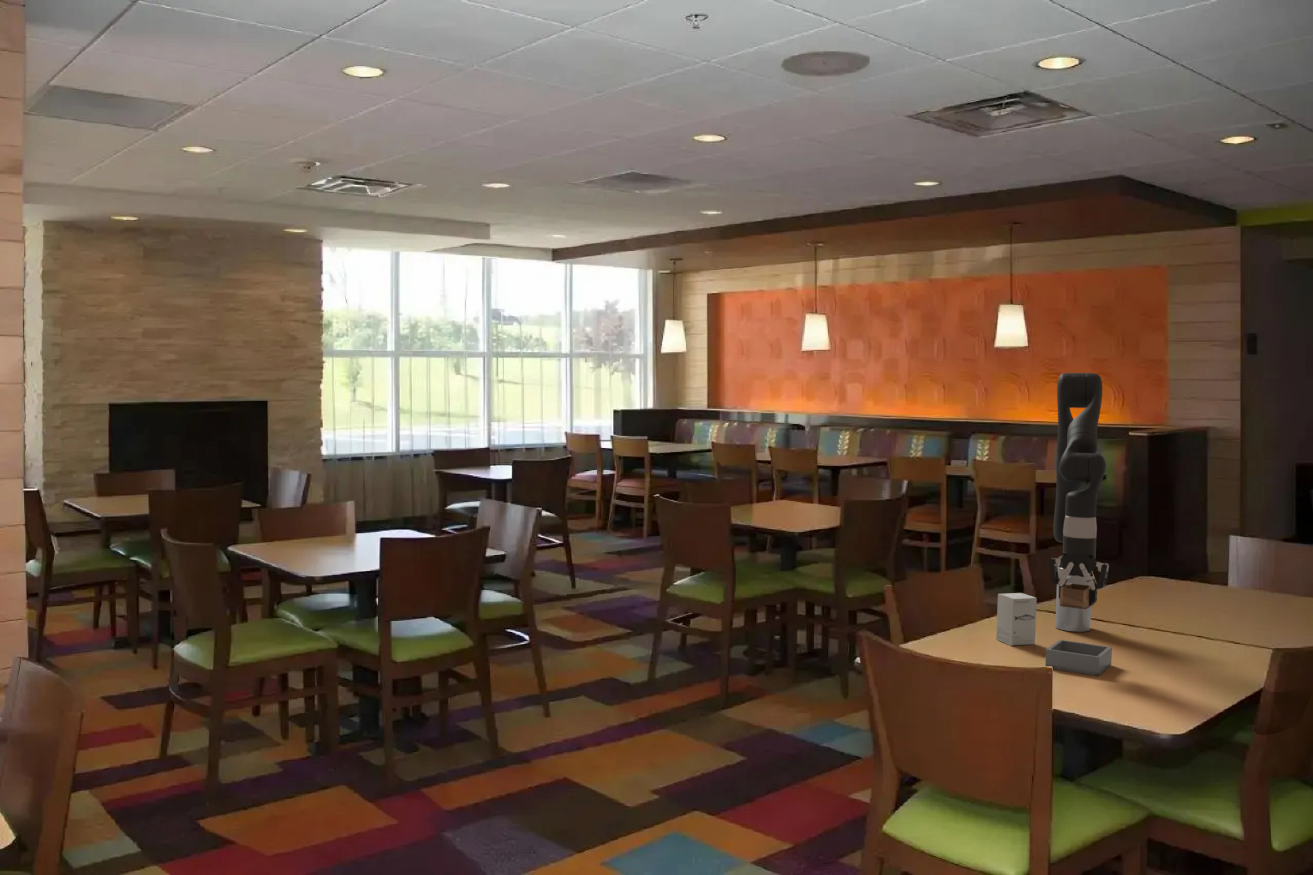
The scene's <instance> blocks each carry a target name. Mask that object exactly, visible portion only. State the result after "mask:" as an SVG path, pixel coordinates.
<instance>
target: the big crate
mask: <svg viewBox="0 0 1313 875" xmlns="http://www.w3.org/2000/svg"><path fill="white" fill-rule="evenodd" d="M1112 650H1113V647H1112V646H1106V645H1098V644H1092V643H1085V642H1078V641H1074V640H1073V641H1072V640H1066V639H1059V640H1057V641H1056V642H1055V643H1053V644H1051V645H1050V646H1049V647H1048V648H1046V649H1045V664H1044V665H1045V666H1052V667H1053V669H1052V670H1058V671H1065V672H1070V673H1077V674H1082V675H1089V676H1096V677H1100V676H1101V675H1102V674H1103V673H1104V672H1105V671H1106V670H1108V669H1109V668H1110V667H1111V666H1112V654H1113V652H1112ZM1045 666H1044V667H1045Z"/></svg>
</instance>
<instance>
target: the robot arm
mask: <svg viewBox="0 0 1313 875" xmlns="http://www.w3.org/2000/svg"><path fill="white" fill-rule="evenodd" d="M1056 396H1057V397H1056V398H1057V399H1056V401H1057V440H1056V443H1057V444H1056V463H1055V469H1056V472H1055V473H1056V476H1055V477H1056V479H1055V480H1056V489H1055V491H1056V492H1055V503H1054V504H1055V506H1054V515H1053V524H1052V526H1053V527H1052V528H1053V529H1052V530H1053V537H1054V539H1055V541H1056V542H1058V543H1062V555H1060V556H1059V557H1052V558H1049V559H1048V565H1049V574H1050V581H1051V583H1053V584H1056V599H1055V600H1056V604H1055V605H1056V606H1055V623H1054V624H1055V626H1054V627H1055V628H1057V629H1059V630H1062V631H1066V632H1067V631H1068V632H1076V633H1079V632H1081V633H1083V632H1089V631H1091V620H1092V619H1091V618H1092V606H1094V605H1095V604H1096V603H1097V601H1098V590H1099V589H1103V588H1105V587H1106V585H1107V580H1108V575H1109V570H1110V564H1109V562H1105V563H1102V562H1099V561H1098V560H1097V557H1096V556H1097V554H1096V552H1097V532H1098V529H1097V528H1098V527H1097V501H1098V495H1099V494H1098V493H1099V490H1100V486H1101V484H1102V480H1103V479H1104V476H1105V473H1106V470H1107V464H1106V460H1105V457H1104V456H1103V455H1102V454H1100V453H1097V450H1098V426H1099V420H1100V414H1101V409H1102V401H1103V400H1102V399H1103V381H1102V377H1101V375H1100V374H1097V373H1093V372H1063V373H1061V374H1060V375H1059V376H1058V379H1057V386H1056ZM1071 408H1072V409H1073V408H1074V409H1083V410H1082V411H1081V412H1080V413H1079V414H1078V415H1077V416H1075V418H1074V416H1073V415H1072V412H1071ZM1086 483H1088V486H1086V488H1084V489H1082V487H1083V486H1084V485H1085V484H1086ZM1096 567H1097V571H1098V572H1099V577H1098V582H1097V581H1096V577H1095V575H1094V573H1093V572H1094V571H1093V570H1095V568H1096ZM1069 583H1074V584H1082V585H1089V587H1090V589H1091V590H1089V605H1092V606H1090V607H1089V608H1087V609H1078V608H1070V607H1062V606H1060V588H1061V587H1063V586H1065V585H1067V584H1069Z"/></svg>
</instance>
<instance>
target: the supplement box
mask: <svg viewBox="0 0 1313 875" xmlns="http://www.w3.org/2000/svg"><path fill="white" fill-rule="evenodd" d="M996 608H997V609H996V610H997V611H996V612H997V613H996V614H997V615H996V633H995V634H996V638H995V639H996V640H997V641H999V642H1001V643H1003V644H1006V645H1008V646H1011V647H1013V646H1022V645H1027V646H1028V645H1035V644H1036V626H1037V625H1036V622H1037V597H1034V596H1032V595H1030V594H1029V595H1028V594H1026V593H1023V592H1016V593H1012V592H1011V593H1008V592H1007V593H998V594H997V607H996Z"/></svg>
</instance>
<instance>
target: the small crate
mask: <svg viewBox="0 0 1313 875" xmlns="http://www.w3.org/2000/svg"><path fill="white" fill-rule="evenodd" d="M1089 590H1091V589H1090V587H1089V585H1082V584H1074V583H1069V584H1067V585H1065V586H1063V587H1061V588H1060V606H1062V607H1070V608H1078V609H1087V608H1089V607H1090V606H1091V607H1092V606H1093V605H1089Z"/></svg>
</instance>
